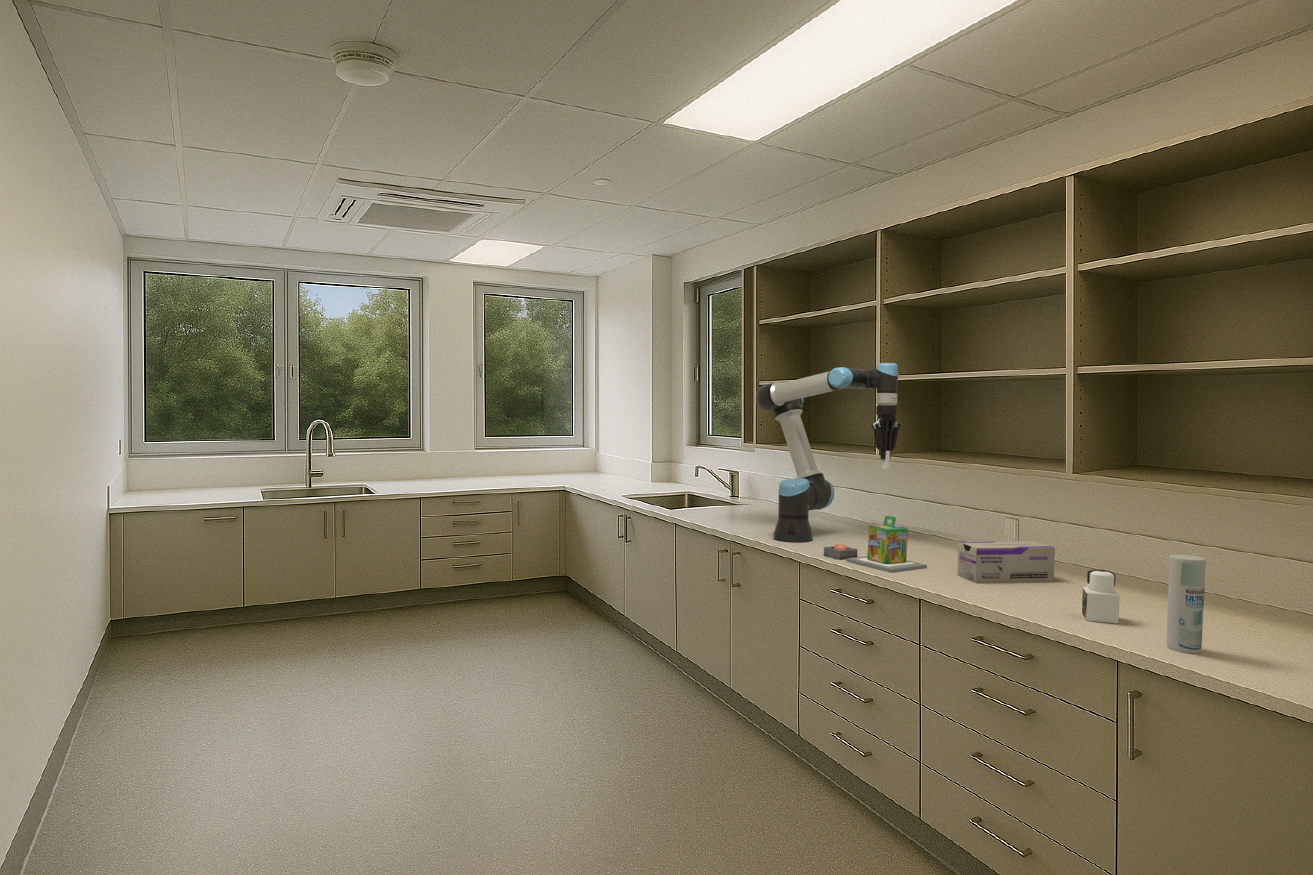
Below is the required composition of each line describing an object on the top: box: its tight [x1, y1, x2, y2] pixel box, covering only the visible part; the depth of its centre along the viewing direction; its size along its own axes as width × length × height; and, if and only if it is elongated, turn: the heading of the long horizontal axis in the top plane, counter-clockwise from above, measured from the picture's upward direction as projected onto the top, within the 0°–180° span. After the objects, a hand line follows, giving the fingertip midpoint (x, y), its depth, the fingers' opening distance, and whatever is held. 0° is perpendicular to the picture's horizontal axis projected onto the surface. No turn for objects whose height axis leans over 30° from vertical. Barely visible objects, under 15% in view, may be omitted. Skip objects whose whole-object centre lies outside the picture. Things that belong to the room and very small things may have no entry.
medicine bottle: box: [1081, 568, 1121, 625], centre depth 193 cm, size 7×7×12 cm
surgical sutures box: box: [956, 540, 1056, 584], centre depth 238 cm, size 25×11×11 cm, turn 98°
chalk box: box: [866, 515, 909, 564], centre depth 257 cm, size 9×9×15 cm
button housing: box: [823, 545, 858, 561], centre depth 270 cm, size 8×8×3 cm
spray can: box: [1166, 554, 1207, 654], centre depth 168 cm, size 6×6×20 cm
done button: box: [833, 543, 848, 550], centre depth 270 cm, size 4×4×3 cm
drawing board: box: [845, 555, 928, 573], centre depth 257 cm, size 20×16×1 cm
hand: (885, 468), depth 290 cm, fingers closed
